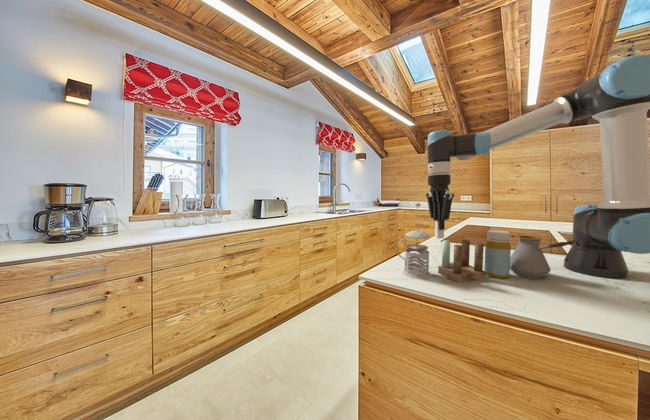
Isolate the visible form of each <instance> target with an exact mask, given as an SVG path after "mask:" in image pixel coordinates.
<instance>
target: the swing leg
mask: <svg viewBox="0 0 650 420" xmlns="http://www.w3.org/2000/svg"><path fill="white" fill-rule="evenodd" d="M441 243H442V244H441V245H442V246H441V249H442V250H441V266H442V267H445V268H449V267H453V263H454V261H451V240H442V242H441Z"/></svg>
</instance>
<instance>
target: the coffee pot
mask: <svg viewBox="0 0 650 420" xmlns="http://www.w3.org/2000/svg"><path fill="white" fill-rule="evenodd" d="M516 238H518V241H519V242H518V243H517V246H516V247H515V249H514V250H513V252H512V253H511V255H510V271H511V272H512V273H513V274H514V275H516V276H519V277H522V278H523V277H524V278H527V279H528V278H529V279H541V278H543V277H545V276H547V275H549V273H550V271H552V270H551V267H550V265H549V263H548V261H547V258H546V256H545V254H544V252H543V251H542V250H543V249H549V248H550V249H551V248H560V247H565V246H568V245H569V246H572V244H574V246H575V244H576V243H578V242H579V241H578V240H577V241H576V240H574V241H572V240H567V241H560V242H555V243H551V244H548V245H540V243H541V241H542V240H543V238H542V237H539V236H534V235H518V236H517V237H516ZM579 243H581V242H579ZM575 247H576V246H575ZM581 247H582V243H581ZM581 247H577V248H581Z"/></svg>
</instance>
